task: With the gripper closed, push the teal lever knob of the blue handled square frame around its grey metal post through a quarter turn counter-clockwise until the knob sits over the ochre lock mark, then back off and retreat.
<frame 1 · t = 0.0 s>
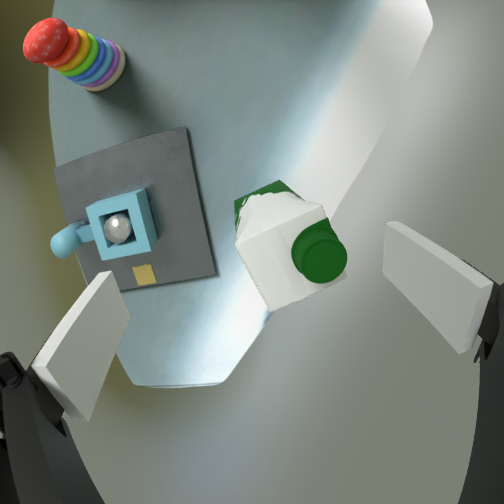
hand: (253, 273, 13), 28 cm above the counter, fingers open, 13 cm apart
stacking toy: (103, 67, 30), on the counter
milk carton: (266, 211, 40), on the counter
blue handled square frame: (99, 231, 35), point 4 cm above the counter, hinge at 0.0°
post plate: (130, 217, 39), on the counter
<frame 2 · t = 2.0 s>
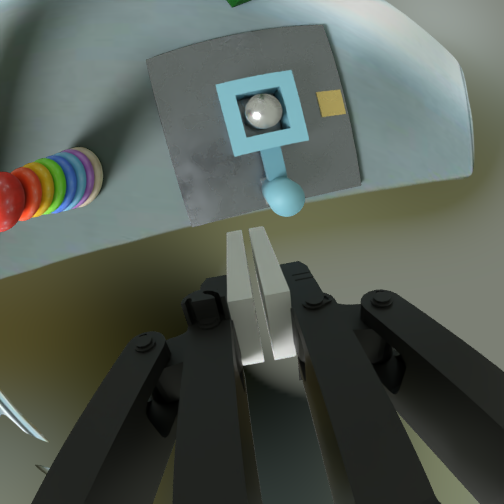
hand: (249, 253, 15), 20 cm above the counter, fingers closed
stacking toy: (80, 176, 31), on the counter
blue handled square frame: (269, 143, 28), point 4 cm above the counter, hinge at 0.0°
post plate: (257, 116, 30), on the counter
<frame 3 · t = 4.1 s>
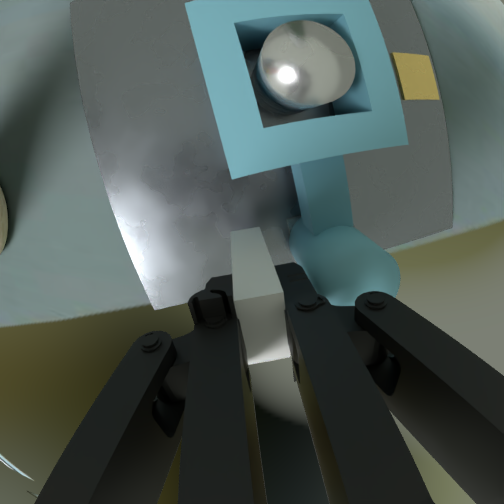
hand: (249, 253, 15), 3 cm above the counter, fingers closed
blue handled square frame: (318, 145, 11), point 4 cm above the counter, hinge at 0.0°, touching gripper
post plate: (280, 87, 14), on the counter
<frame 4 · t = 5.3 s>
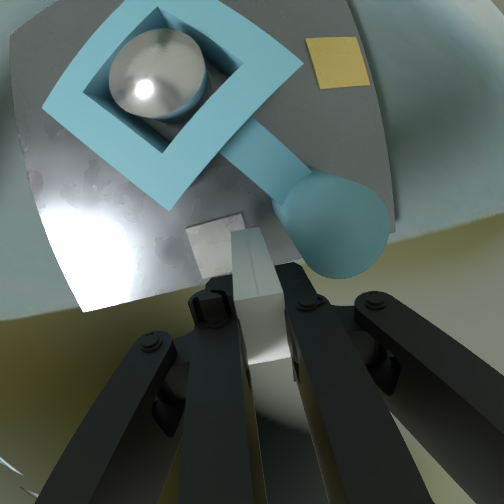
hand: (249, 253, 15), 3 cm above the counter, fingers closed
blue handled square frame: (225, 126, 11), point 4 cm above the counter, hinge at 34.6°, touching gripper
post plate: (180, 95, 13), on the counter
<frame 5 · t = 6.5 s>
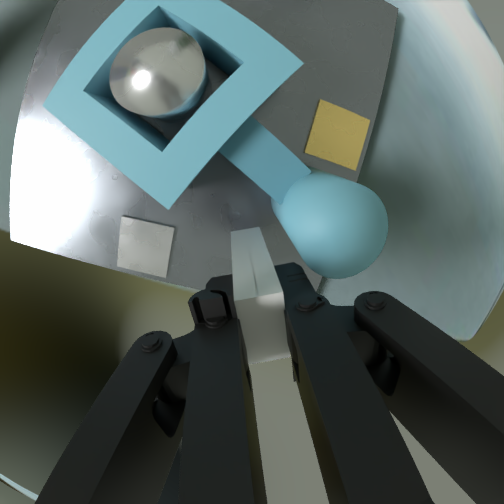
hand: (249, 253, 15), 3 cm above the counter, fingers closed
blue handled square frame: (225, 125, 11), point 4 cm above the counter, hinge at 63.4°, touching gripper
post plate: (180, 94, 13), on the counter
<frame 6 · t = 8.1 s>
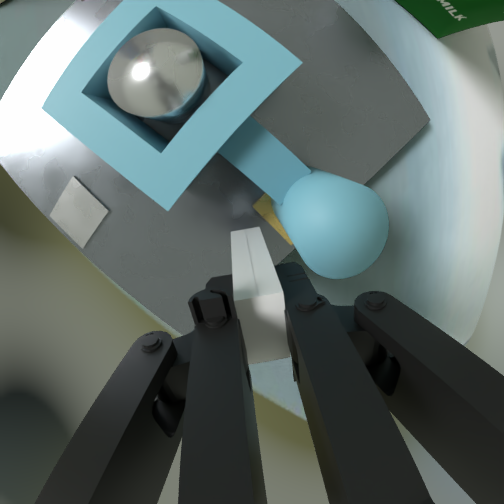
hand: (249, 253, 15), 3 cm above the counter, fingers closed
blue handled square frame: (224, 126, 11), point 4 cm above the counter, hinge at 94.6°, touching gripper
post plate: (179, 94, 13), on the counter
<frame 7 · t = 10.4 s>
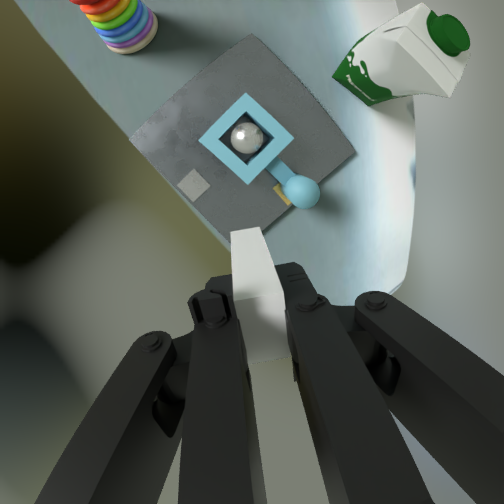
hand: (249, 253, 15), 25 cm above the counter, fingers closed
stacking toy: (133, 32, 28), on the counter
milk carton: (360, 75, 33), on the counter
blue handled square frame: (267, 158, 32), point 4 cm above the counter, hinge at 94.7°
post plate: (244, 139, 35), on the counter
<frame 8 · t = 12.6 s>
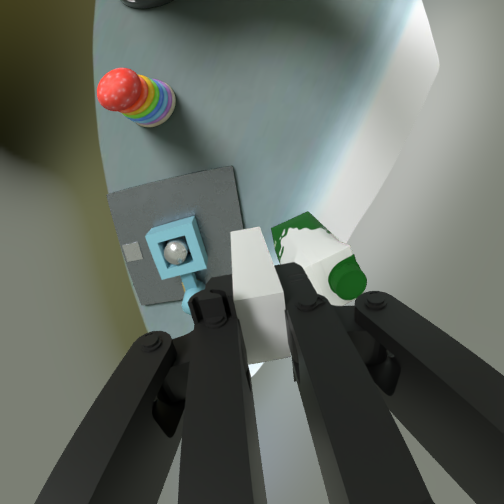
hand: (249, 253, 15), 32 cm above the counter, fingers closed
stacking toy: (153, 104, 39), on the counter
milk carton: (296, 236, 50), on the counter
blue handled square frame: (183, 268, 45), point 4 cm above the counter, hinge at 94.7°
post plate: (180, 240, 48), on the counter
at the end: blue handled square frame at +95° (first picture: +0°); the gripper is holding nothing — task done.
